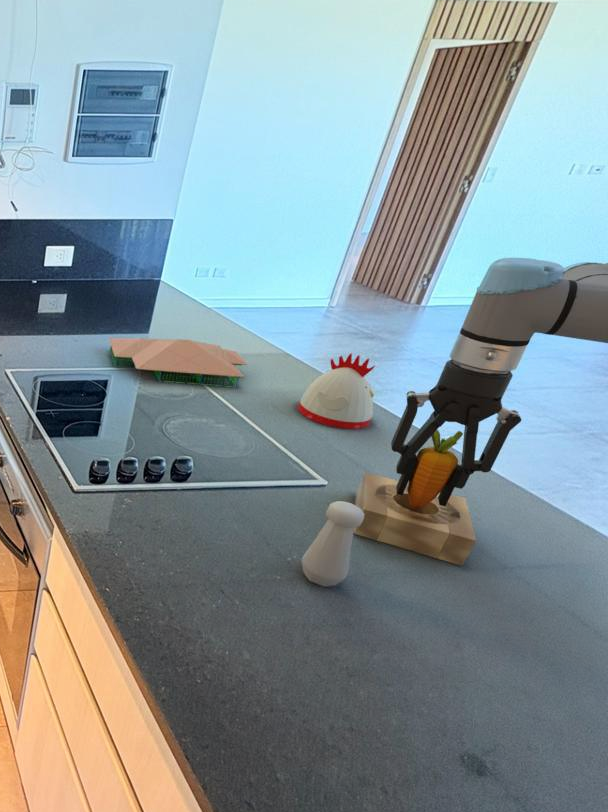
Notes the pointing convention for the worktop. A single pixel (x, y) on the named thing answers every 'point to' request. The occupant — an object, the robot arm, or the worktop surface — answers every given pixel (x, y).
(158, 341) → the house
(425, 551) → the holder
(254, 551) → the worktop surface
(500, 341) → the robot arm
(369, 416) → the kitchen timer
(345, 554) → the salt shaker
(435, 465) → the carrot
